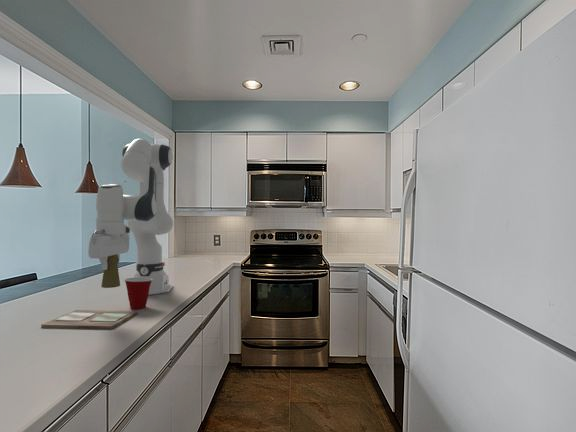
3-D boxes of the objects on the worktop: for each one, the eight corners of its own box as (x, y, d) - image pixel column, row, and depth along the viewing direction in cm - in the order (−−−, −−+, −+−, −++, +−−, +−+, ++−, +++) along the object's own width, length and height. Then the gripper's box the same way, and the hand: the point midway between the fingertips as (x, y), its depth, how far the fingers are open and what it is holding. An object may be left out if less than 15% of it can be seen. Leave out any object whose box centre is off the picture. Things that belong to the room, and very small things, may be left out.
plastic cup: (158, 305, 146) (158, 276, 146) (140, 312, 135) (141, 281, 135) (136, 303, 148) (136, 275, 148) (117, 309, 138) (117, 279, 138)
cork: (112, 288, 120) (112, 256, 120) (97, 287, 122) (97, 255, 122) (124, 284, 126) (124, 254, 126) (109, 284, 128) (109, 254, 128)
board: (76, 312, 134) (76, 309, 134) (137, 313, 133) (137, 310, 133) (41, 327, 116) (41, 323, 116) (111, 329, 115) (112, 325, 115)
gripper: (102, 230, 113) (101, 273, 113) (132, 228, 134) (132, 264, 134) (83, 230, 114) (82, 272, 114) (116, 228, 134) (116, 264, 134)
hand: (109, 268), depth 124 cm, fingers closed on cork, 4 cm apart
